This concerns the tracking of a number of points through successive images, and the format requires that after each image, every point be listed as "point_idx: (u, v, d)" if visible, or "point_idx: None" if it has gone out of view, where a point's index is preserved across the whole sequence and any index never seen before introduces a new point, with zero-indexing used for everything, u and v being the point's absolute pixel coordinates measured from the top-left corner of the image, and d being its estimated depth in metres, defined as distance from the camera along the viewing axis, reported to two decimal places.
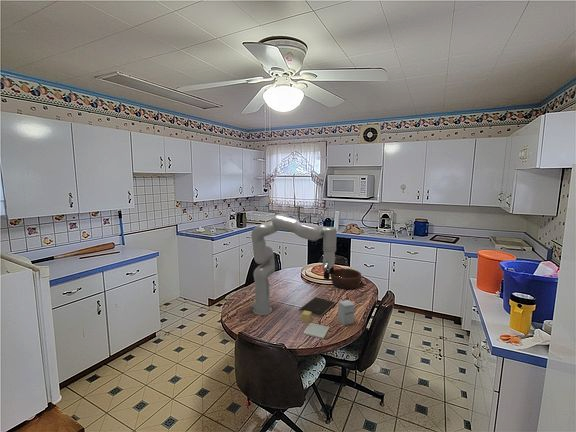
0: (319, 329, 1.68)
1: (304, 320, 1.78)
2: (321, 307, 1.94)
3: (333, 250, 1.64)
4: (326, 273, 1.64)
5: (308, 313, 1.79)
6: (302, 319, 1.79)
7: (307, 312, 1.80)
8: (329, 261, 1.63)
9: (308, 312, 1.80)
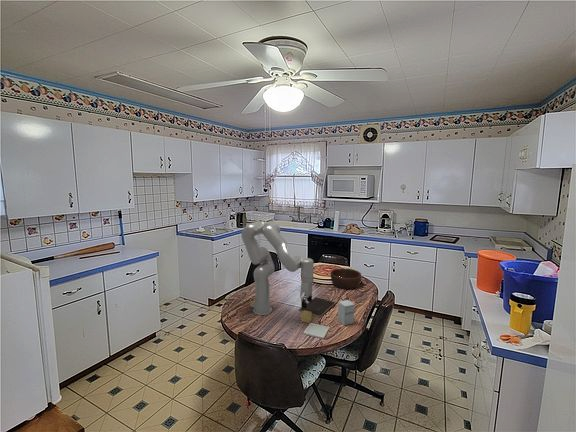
0: (319, 329, 1.68)
1: (304, 320, 1.78)
2: (321, 307, 1.94)
3: (310, 281, 1.73)
4: (303, 302, 1.73)
5: (308, 313, 1.79)
6: (302, 319, 1.79)
7: (307, 312, 1.80)
8: (306, 291, 1.73)
9: (308, 312, 1.80)
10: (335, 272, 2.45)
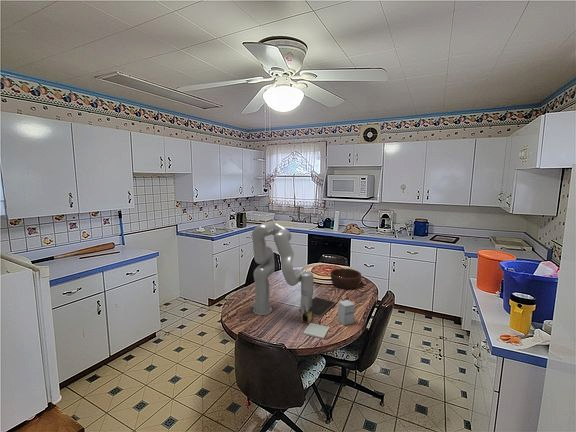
0: (319, 329, 1.68)
1: None
2: (322, 307, 1.93)
3: (310, 294, 1.75)
4: (304, 316, 1.76)
5: (308, 313, 1.79)
6: (302, 319, 1.79)
7: (307, 312, 1.80)
8: (306, 305, 1.74)
9: (308, 312, 1.80)
10: (335, 272, 2.45)
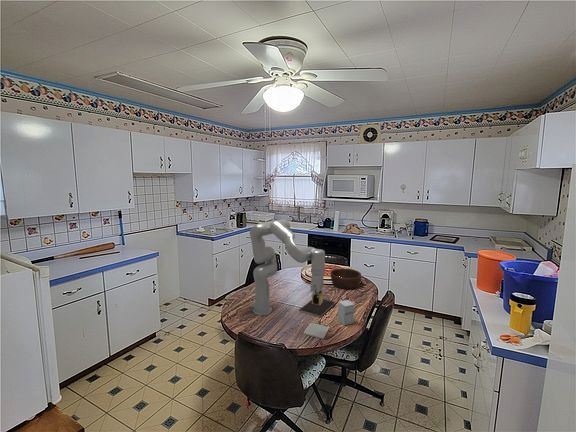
0: (319, 329, 1.68)
1: None
2: (322, 307, 1.93)
3: (321, 273, 1.59)
4: (315, 298, 1.61)
5: (319, 294, 1.63)
6: None
7: None
8: (317, 285, 1.58)
9: (319, 293, 1.65)
10: (335, 272, 2.45)
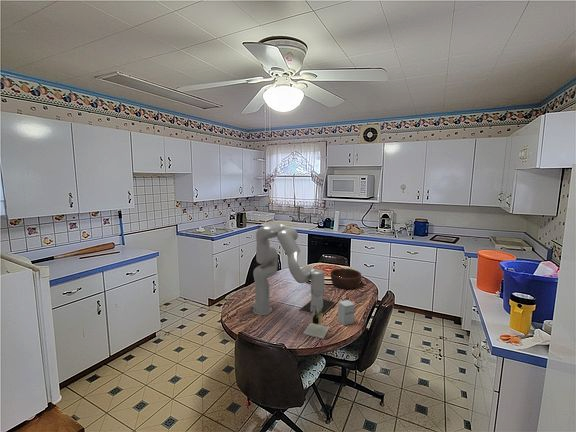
0: (319, 329, 1.68)
1: None
2: (322, 307, 1.93)
3: (321, 294, 1.61)
4: (315, 318, 1.62)
5: (319, 314, 1.65)
6: None
7: (318, 313, 1.66)
8: (316, 306, 1.60)
9: (319, 313, 1.66)
10: (335, 272, 2.45)
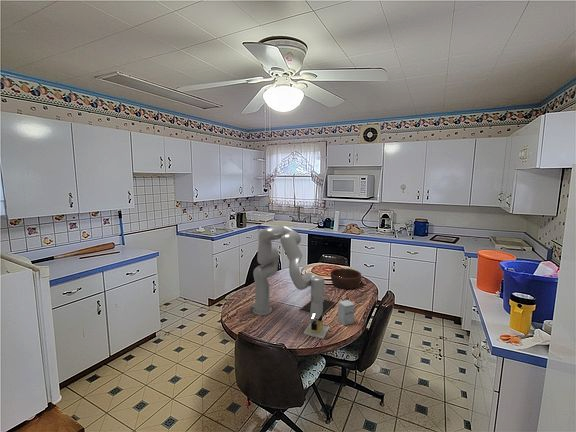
0: None
1: (314, 330, 1.65)
2: None
3: (321, 301, 1.61)
4: (313, 324, 1.61)
5: (318, 323, 1.66)
6: None
7: (317, 322, 1.67)
8: (316, 312, 1.60)
9: (318, 321, 1.67)
10: (335, 272, 2.45)
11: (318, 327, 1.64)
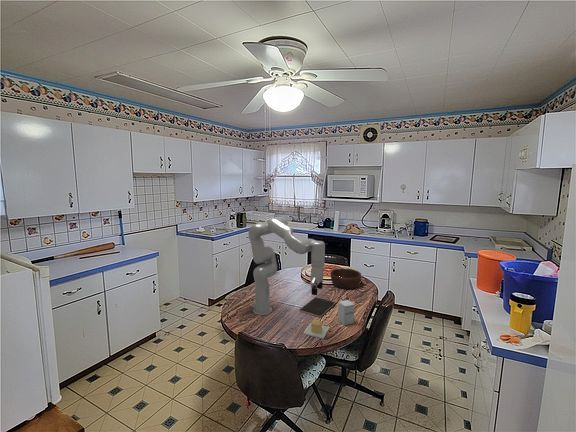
0: None
1: (314, 330, 1.65)
2: (322, 307, 1.93)
3: (321, 265, 1.59)
4: (314, 289, 1.58)
5: (318, 323, 1.66)
6: (312, 329, 1.66)
7: (317, 322, 1.67)
8: (316, 277, 1.58)
9: (318, 321, 1.67)
10: (335, 272, 2.45)
11: (318, 327, 1.64)
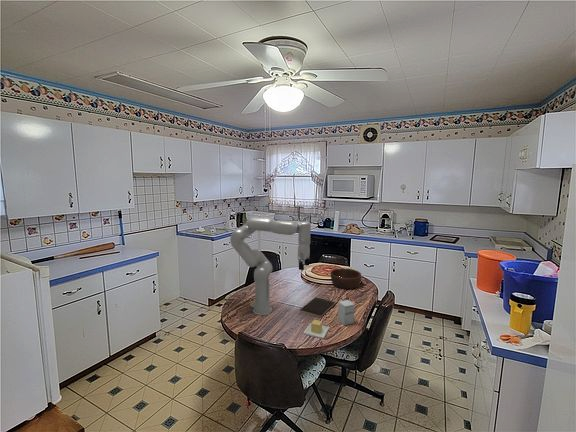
0: None
1: (314, 330, 1.65)
2: (322, 307, 1.93)
3: (307, 243, 1.76)
4: (300, 264, 1.76)
5: (318, 323, 1.66)
6: (312, 329, 1.66)
7: (317, 322, 1.67)
8: (303, 253, 1.75)
9: (318, 321, 1.67)
10: (335, 272, 2.45)
11: (318, 327, 1.64)
